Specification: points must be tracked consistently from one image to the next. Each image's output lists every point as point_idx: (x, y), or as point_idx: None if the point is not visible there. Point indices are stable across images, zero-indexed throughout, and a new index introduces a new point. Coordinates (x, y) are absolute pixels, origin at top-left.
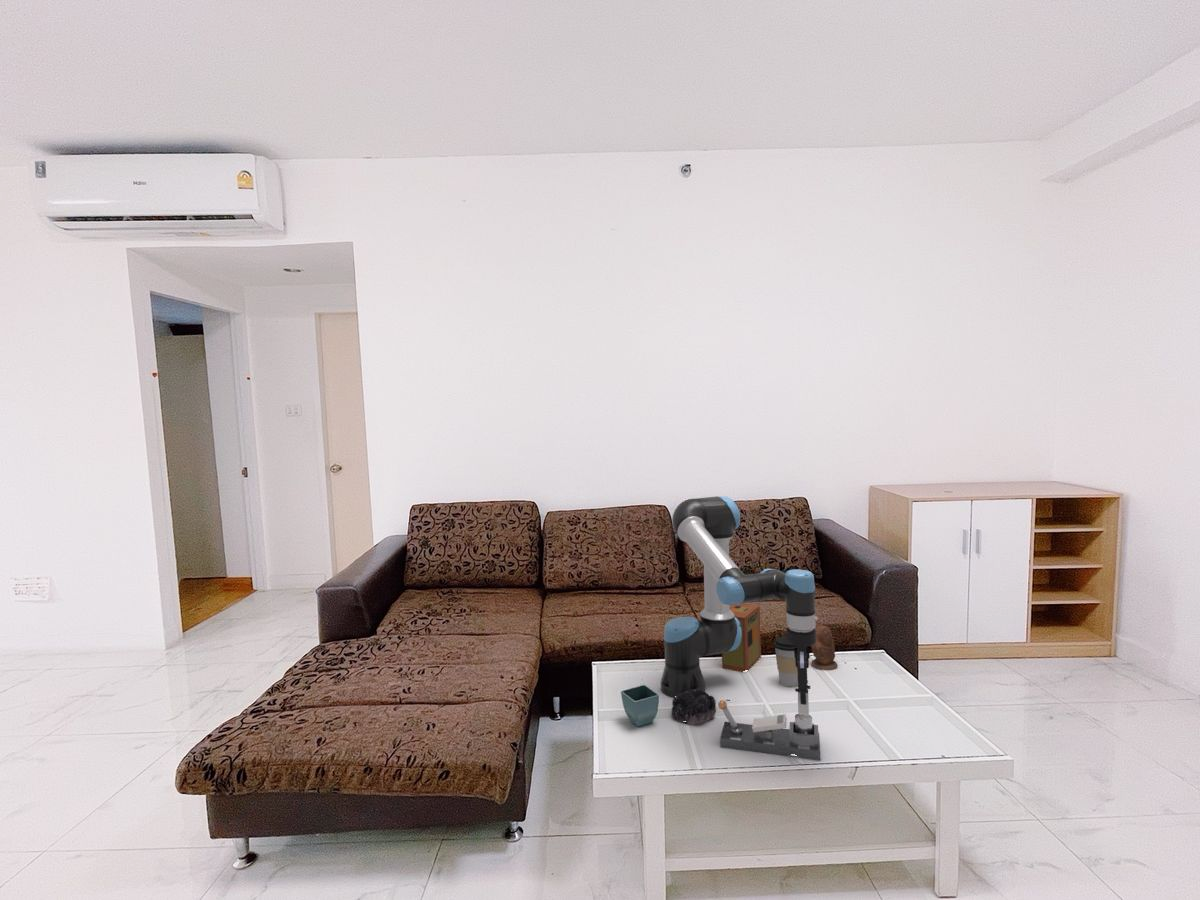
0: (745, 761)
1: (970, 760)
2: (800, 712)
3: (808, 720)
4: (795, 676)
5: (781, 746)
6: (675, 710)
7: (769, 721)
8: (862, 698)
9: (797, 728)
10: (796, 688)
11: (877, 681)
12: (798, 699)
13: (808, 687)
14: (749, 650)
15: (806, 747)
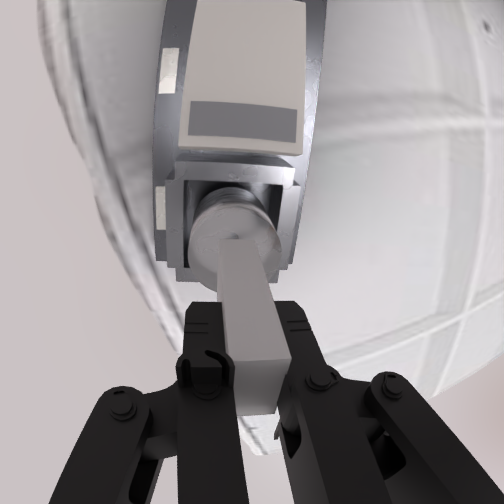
0: (100, 12)
1: (246, 443)
2: (219, 258)
3: (199, 278)
4: None
5: (154, 120)
6: None
7: (240, 62)
8: (459, 333)
9: (203, 204)
10: (231, 376)
11: (487, 344)
12: (225, 304)
13: (276, 432)
14: None
15: (165, 217)
